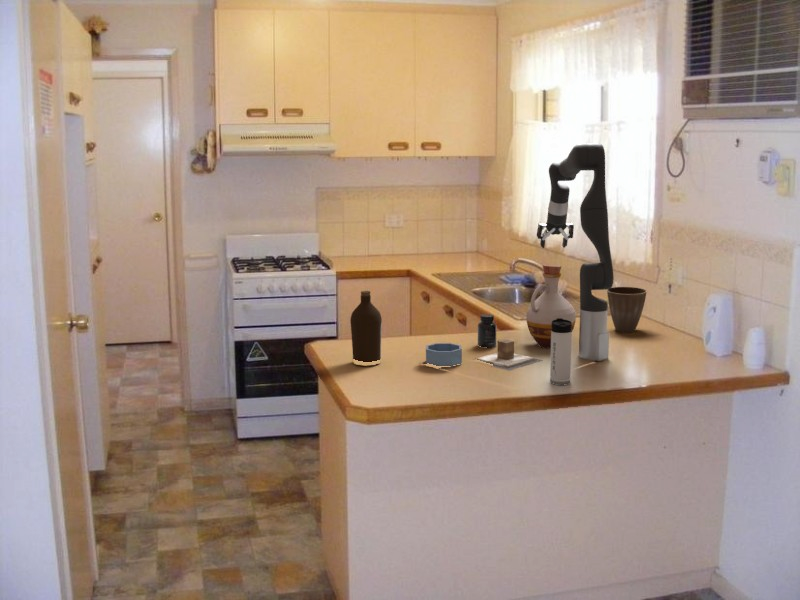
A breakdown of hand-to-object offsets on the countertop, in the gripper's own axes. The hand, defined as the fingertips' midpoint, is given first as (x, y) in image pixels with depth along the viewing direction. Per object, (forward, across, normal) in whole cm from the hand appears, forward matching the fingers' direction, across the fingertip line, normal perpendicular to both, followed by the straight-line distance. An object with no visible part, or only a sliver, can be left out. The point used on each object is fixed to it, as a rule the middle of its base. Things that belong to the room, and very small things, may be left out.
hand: (553, 247), depth 362 cm
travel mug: (0, -19, -90) cm, 92 cm away
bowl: (+9, -53, -65) cm, 84 cm away
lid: (+8, -31, -65) cm, 72 cm away
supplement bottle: (+16, -34, -46) cm, 59 cm away
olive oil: (+11, -78, -61) cm, 100 cm away
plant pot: (+23, +25, -27) cm, 44 cm away
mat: (+9, -31, -65) cm, 73 cm away
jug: (+16, -11, -47) cm, 50 cm away
